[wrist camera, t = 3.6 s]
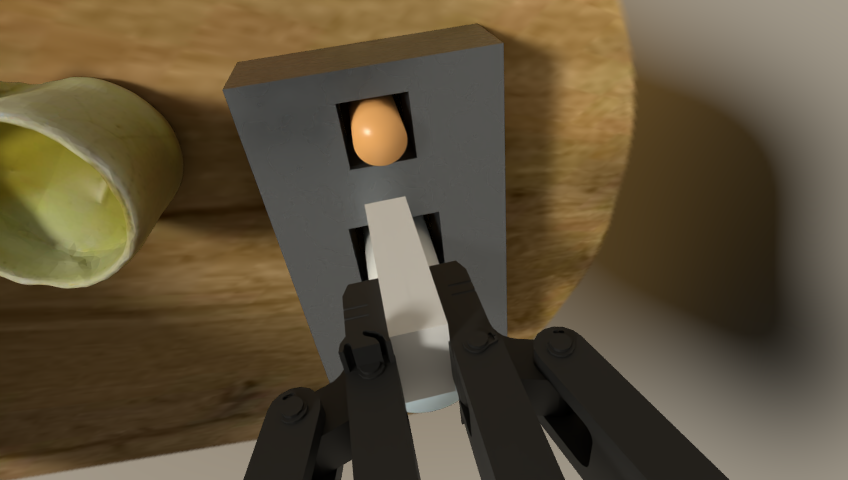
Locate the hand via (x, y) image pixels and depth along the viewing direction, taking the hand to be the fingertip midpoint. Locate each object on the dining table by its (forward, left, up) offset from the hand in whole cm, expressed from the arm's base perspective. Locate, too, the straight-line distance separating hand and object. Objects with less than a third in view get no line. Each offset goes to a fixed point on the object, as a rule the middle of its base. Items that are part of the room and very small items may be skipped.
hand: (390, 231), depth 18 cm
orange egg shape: (0, 0, -14) cm, 14 cm away
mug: (-17, +2, -15) cm, 22 cm away
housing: (0, -8, -15) cm, 17 cm away
